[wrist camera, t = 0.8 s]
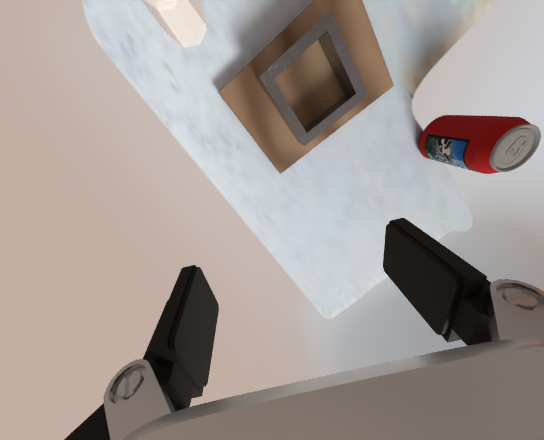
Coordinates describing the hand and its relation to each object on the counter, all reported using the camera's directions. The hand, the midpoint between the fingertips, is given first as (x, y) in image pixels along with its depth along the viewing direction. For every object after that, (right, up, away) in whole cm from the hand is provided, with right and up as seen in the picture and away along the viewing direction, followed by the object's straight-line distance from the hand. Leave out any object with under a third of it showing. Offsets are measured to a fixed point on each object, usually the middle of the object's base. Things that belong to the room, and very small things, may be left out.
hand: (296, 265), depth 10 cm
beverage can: (+26, +16, +25) cm, 39 cm away
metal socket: (+4, +20, +18) cm, 27 cm away
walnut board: (+4, +21, +19) cm, 29 cm away
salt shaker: (-12, +26, +15) cm, 33 cm away
